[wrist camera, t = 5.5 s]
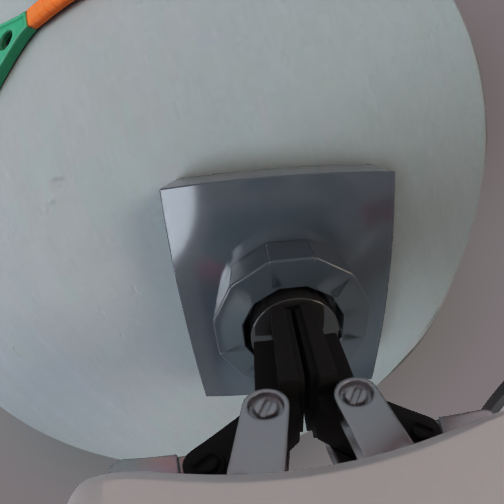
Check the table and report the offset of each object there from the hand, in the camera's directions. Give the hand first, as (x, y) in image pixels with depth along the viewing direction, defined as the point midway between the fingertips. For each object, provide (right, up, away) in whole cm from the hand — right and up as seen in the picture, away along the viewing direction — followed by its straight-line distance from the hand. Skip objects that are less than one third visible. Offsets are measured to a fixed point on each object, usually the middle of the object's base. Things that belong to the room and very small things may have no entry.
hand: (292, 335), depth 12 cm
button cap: (0, +1, +2) cm, 2 cm away
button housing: (0, +2, +5) cm, 5 cm away
